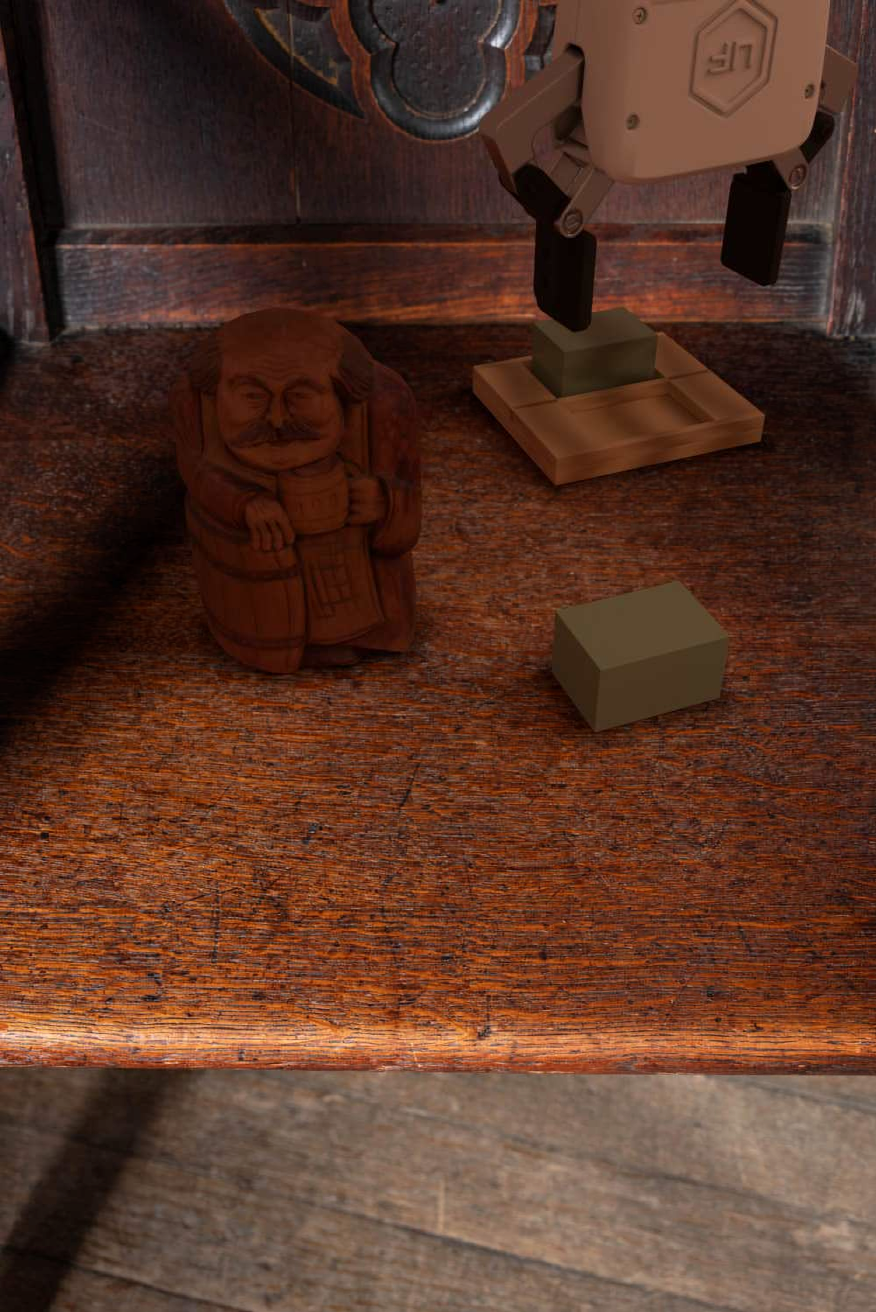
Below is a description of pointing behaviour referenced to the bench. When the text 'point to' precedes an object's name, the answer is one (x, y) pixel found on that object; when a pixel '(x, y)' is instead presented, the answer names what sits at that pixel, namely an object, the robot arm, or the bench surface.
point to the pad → (638, 655)
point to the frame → (612, 399)
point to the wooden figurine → (299, 491)
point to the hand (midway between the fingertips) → (658, 296)
